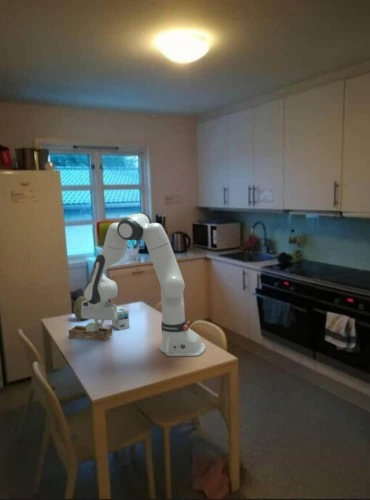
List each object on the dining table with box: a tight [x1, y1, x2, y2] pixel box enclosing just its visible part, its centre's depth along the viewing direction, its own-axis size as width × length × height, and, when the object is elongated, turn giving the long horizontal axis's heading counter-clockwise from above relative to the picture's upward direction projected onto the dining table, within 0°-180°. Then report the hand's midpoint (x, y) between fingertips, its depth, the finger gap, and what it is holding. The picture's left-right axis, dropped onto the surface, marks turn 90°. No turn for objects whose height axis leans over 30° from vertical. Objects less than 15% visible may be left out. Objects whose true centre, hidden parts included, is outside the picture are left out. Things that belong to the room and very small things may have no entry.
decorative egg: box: [72, 295, 86, 321], centre depth 238 cm, size 11×11×15 cm
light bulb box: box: [111, 305, 130, 331], centre depth 224 cm, size 11×7×11 cm, turn 34°
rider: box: [85, 321, 101, 332], centre depth 209 cm, size 5×7×5 cm
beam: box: [68, 324, 113, 341], centre depth 210 cm, size 22×8×4 cm, turn 75°
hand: (99, 326), depth 208 cm, fingers closed
